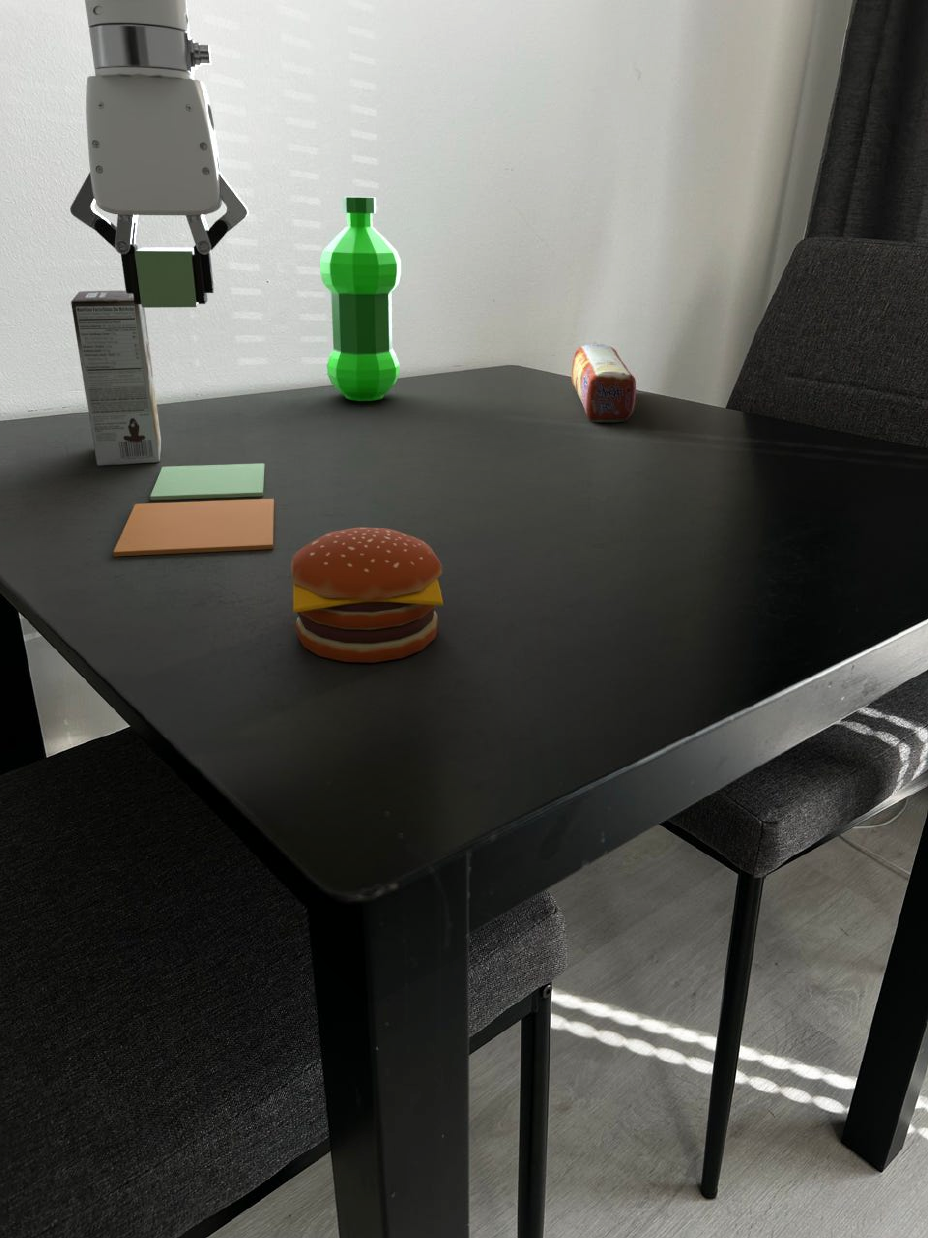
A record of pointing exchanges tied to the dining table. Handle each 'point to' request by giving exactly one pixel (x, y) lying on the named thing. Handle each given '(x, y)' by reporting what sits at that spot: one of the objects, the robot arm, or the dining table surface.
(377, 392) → the plastic bottle
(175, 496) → the green mat
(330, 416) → the dining table surface
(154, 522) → the caramel mat
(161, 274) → the green block
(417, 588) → the hamburger
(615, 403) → the snack package
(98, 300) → the coffee box
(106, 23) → the robot arm
